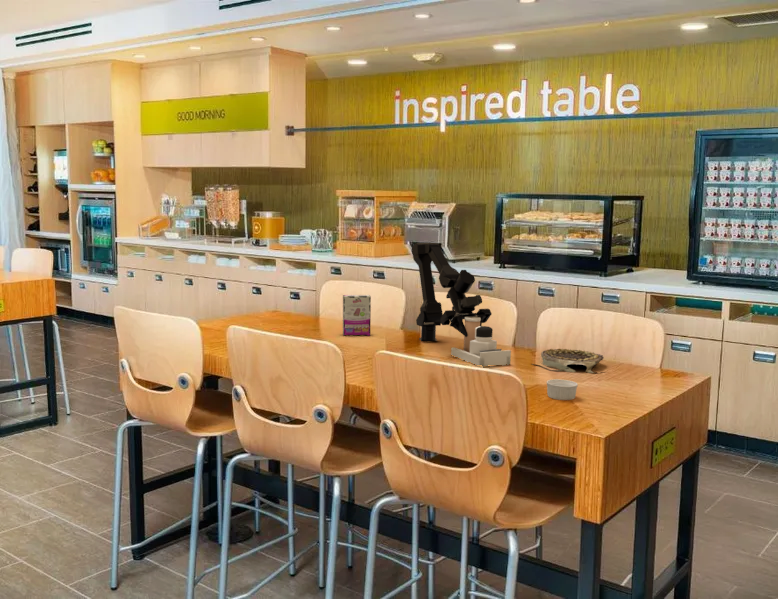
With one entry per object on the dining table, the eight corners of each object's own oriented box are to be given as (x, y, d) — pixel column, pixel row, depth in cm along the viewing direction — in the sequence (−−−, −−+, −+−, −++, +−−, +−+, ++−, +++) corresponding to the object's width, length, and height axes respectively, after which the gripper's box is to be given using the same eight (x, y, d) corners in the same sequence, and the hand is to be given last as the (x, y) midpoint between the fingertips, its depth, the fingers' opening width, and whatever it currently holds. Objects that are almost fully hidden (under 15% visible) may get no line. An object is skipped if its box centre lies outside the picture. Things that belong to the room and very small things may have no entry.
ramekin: (572, 393, 234) (573, 379, 233) (580, 401, 225) (581, 386, 224) (542, 393, 234) (543, 378, 233) (549, 400, 225) (550, 386, 224)
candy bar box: (368, 333, 325) (369, 294, 323) (370, 336, 320) (371, 296, 318) (341, 334, 324) (342, 294, 321) (343, 336, 319) (343, 296, 316)
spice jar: (464, 351, 287) (466, 315, 285) (480, 352, 285) (481, 316, 283) (461, 354, 281) (463, 318, 279) (477, 355, 280) (479, 319, 278)
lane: (451, 355, 284) (451, 342, 284) (479, 353, 289) (480, 340, 289) (480, 367, 266) (481, 352, 266) (510, 364, 271) (510, 350, 271)
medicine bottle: (496, 360, 277) (497, 326, 276) (487, 363, 271) (488, 329, 270) (478, 357, 281) (479, 324, 280) (468, 360, 275) (470, 327, 274)
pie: (517, 360, 282) (518, 346, 281) (581, 357, 292) (582, 343, 291) (561, 377, 256) (562, 362, 255) (630, 373, 266) (631, 359, 265)
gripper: (445, 288, 280) (459, 323, 271) (490, 286, 287) (505, 321, 279) (434, 306, 288) (447, 342, 279) (477, 304, 296) (492, 339, 287)
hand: (473, 335), depth 281 cm, fingers closed on spice jar, 5 cm apart
